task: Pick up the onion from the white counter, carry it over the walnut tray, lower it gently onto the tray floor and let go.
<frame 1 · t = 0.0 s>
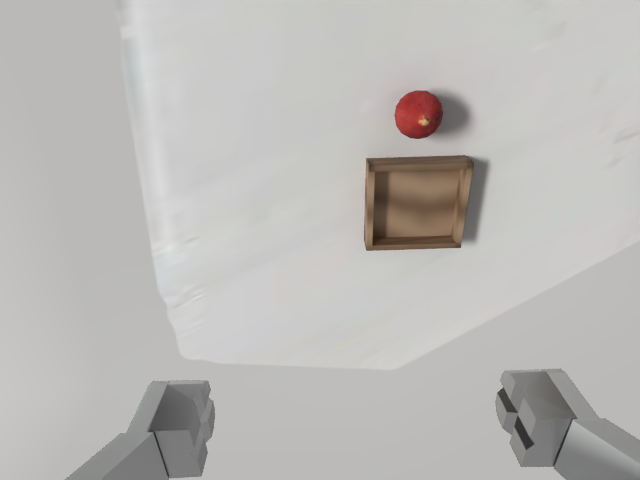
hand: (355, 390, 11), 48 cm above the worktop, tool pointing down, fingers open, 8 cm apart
walnut tray: (412, 199, 60), on the worktop
onion: (411, 109, 55), on the worktop
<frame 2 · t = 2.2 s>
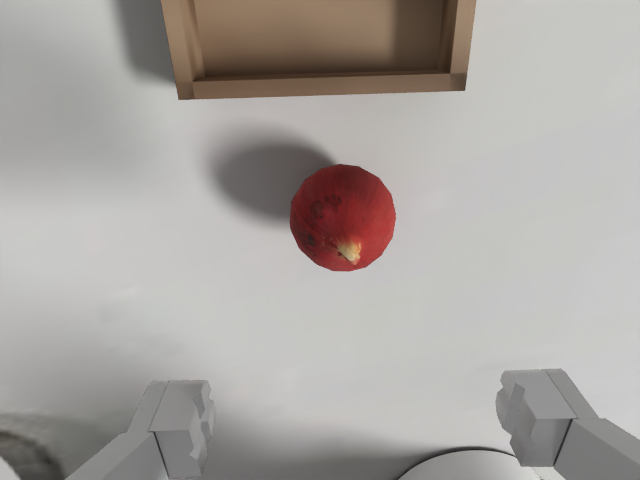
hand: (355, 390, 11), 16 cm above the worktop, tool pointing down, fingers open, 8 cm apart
onion: (339, 193, 26), on the worktop
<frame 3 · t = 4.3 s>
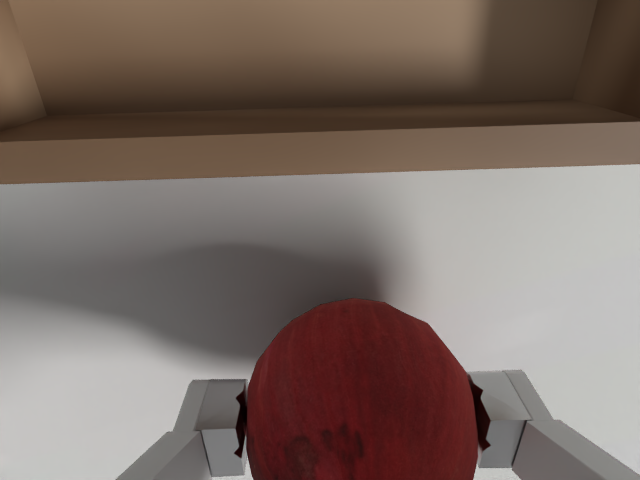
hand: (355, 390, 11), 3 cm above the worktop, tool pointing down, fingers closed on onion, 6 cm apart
onion: (347, 318, 14), on the worktop, touching gripper
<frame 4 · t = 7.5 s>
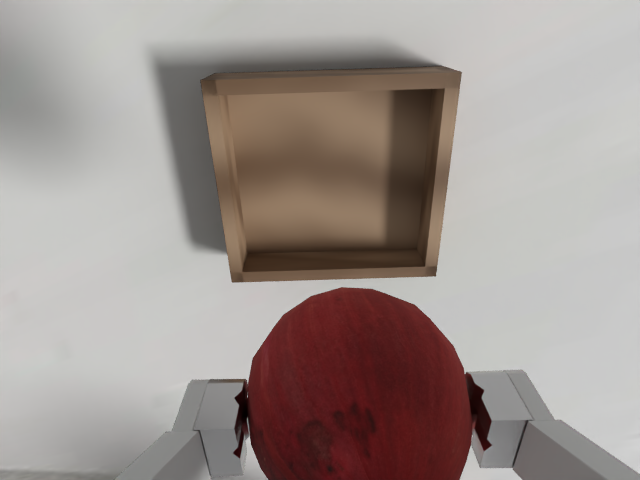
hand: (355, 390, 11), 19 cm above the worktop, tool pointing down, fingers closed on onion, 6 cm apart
walnut tray: (330, 171, 28), on the worktop
onion: (331, 310, 14), point 15 cm above the worktop, touching gripper
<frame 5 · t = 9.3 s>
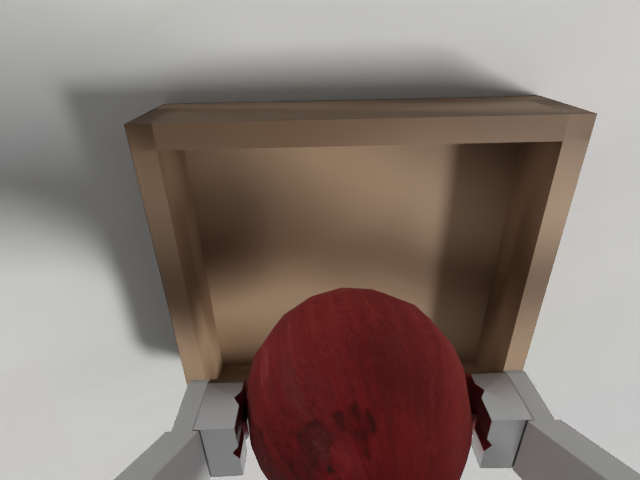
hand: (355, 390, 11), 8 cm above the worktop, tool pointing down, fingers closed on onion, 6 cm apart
walnut tray: (349, 251, 18), on the worktop
onion: (331, 310, 14), point 4 cm above the worktop, touching gripper
when the fingers open (5 cm above the worktop, at t = 10.8 s): onion stays where it is, resting on walnut tray.
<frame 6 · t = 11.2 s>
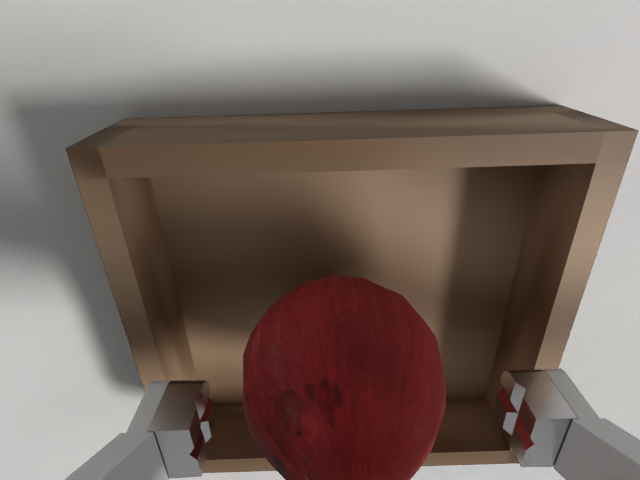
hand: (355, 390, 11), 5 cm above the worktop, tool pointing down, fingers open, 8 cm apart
walnut tray: (343, 281, 16), on the worktop
onion: (334, 295, 15), point 1 cm above the worktop, touching walnut tray
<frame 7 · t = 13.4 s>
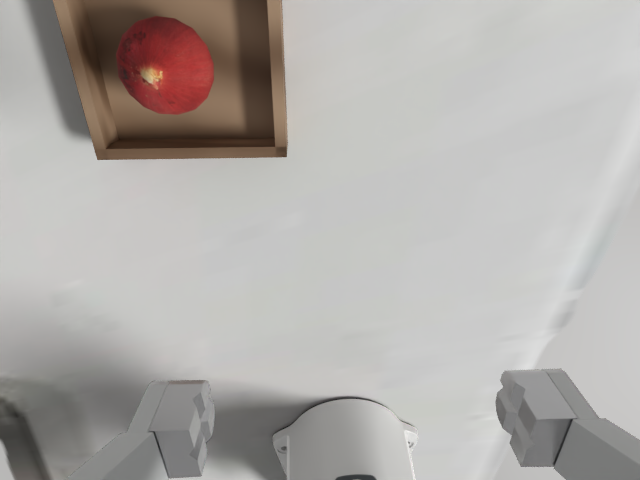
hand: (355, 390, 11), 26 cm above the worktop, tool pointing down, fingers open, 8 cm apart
walnut tray: (189, 58, 30), on the worktop
onion: (182, 61, 30), point 1 cm above the worktop, touching walnut tray
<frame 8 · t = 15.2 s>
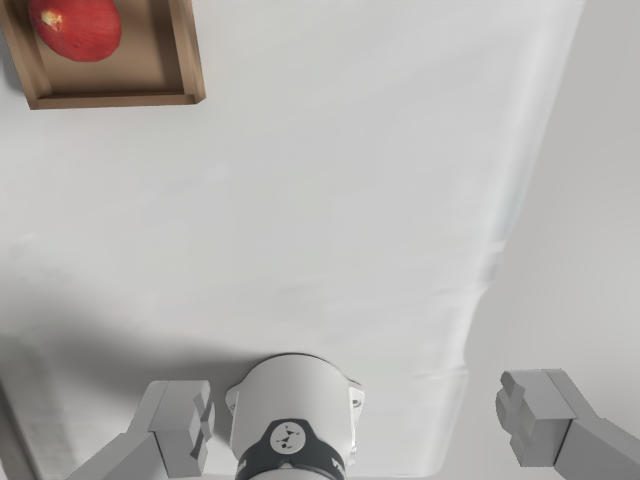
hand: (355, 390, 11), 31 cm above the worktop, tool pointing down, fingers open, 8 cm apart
walnut tray: (110, 19, 34), on the worktop
onion: (102, 20, 34), point 1 cm above the worktop, touching walnut tray
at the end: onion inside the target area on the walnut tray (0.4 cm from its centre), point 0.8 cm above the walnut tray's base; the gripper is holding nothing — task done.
